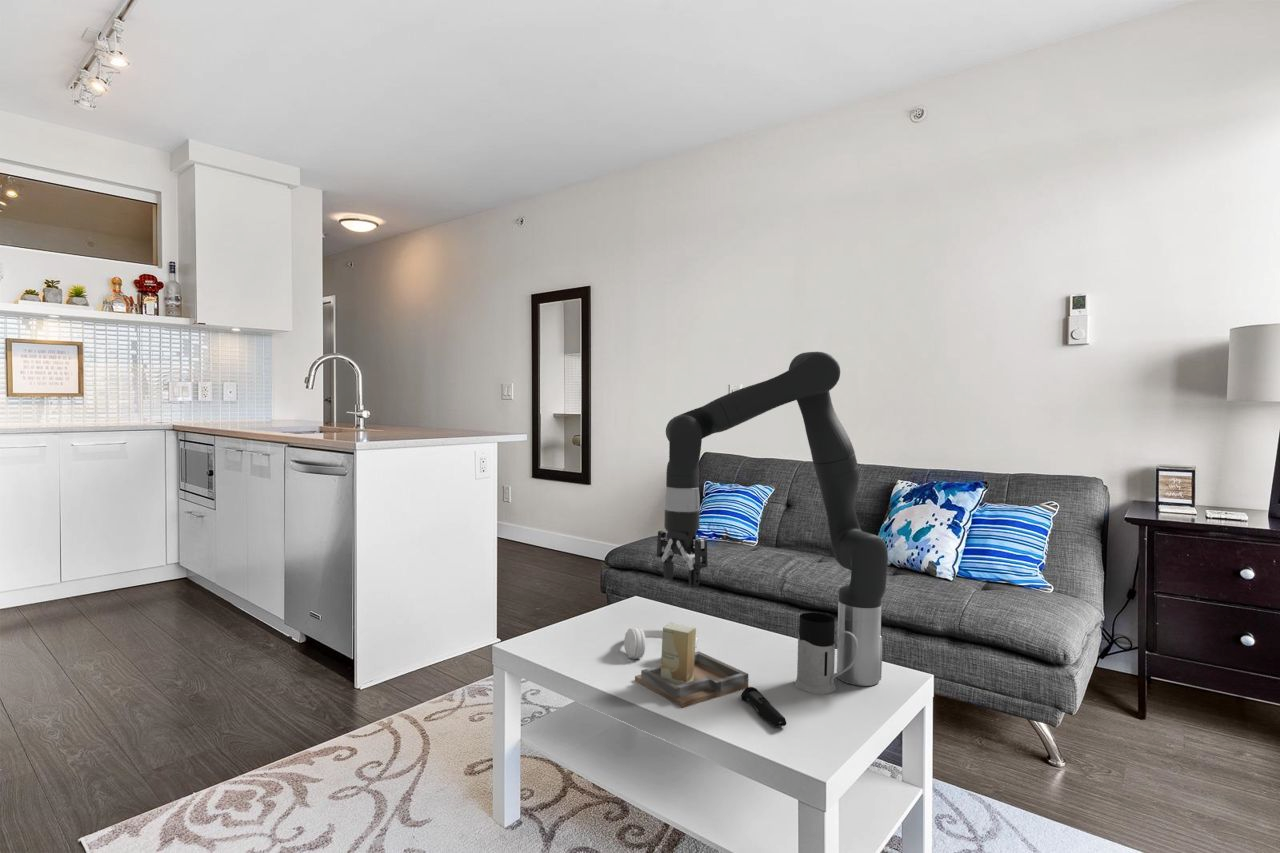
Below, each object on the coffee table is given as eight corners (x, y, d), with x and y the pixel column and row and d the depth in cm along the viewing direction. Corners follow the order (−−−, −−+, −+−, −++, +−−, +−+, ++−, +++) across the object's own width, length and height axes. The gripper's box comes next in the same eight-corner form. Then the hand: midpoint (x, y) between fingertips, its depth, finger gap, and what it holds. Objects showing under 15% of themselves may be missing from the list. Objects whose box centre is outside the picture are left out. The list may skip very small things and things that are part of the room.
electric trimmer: (772, 734, 124) (773, 717, 124) (739, 699, 139) (739, 684, 139) (790, 732, 125) (791, 716, 125) (755, 697, 140) (756, 682, 140)
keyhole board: (698, 663, 158) (698, 651, 158) (748, 687, 145) (748, 673, 145) (635, 680, 147) (635, 666, 147) (682, 707, 134) (682, 692, 134)
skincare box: (659, 683, 143) (660, 627, 143) (668, 677, 147) (669, 621, 147) (687, 690, 140) (688, 632, 140) (695, 683, 144) (696, 626, 144)
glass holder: (809, 674, 153) (811, 609, 153) (866, 694, 142) (868, 624, 142) (786, 684, 147) (788, 616, 147) (844, 705, 137) (846, 632, 136)
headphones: (693, 635, 156) (700, 623, 175) (616, 628, 159) (632, 617, 179) (692, 666, 155) (699, 651, 174) (614, 660, 158) (630, 645, 178)
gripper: (717, 510, 140) (716, 587, 141) (674, 503, 152) (673, 574, 152) (690, 513, 136) (688, 592, 136) (648, 505, 148) (647, 578, 148)
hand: (680, 582), depth 144 cm, fingers open, 8 cm apart
